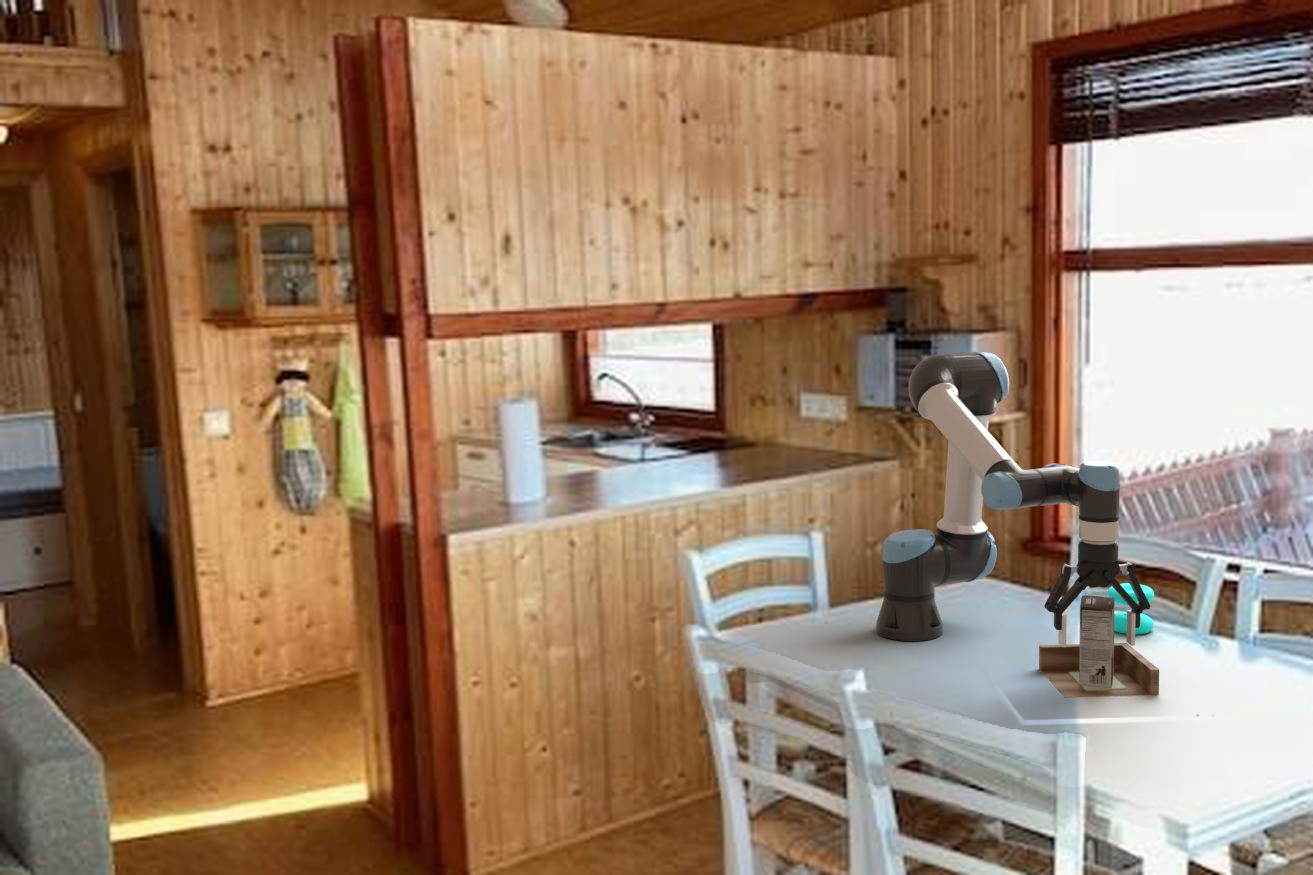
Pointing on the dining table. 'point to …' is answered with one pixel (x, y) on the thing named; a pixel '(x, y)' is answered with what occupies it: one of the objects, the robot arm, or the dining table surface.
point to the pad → (1115, 686)
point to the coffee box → (1096, 641)
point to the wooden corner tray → (1127, 670)
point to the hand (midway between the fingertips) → (1096, 644)
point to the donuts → (1121, 617)
